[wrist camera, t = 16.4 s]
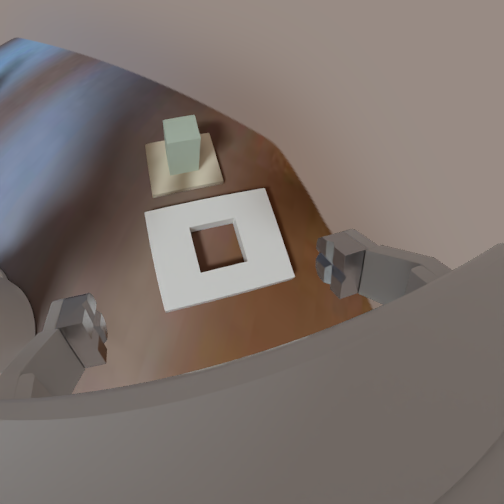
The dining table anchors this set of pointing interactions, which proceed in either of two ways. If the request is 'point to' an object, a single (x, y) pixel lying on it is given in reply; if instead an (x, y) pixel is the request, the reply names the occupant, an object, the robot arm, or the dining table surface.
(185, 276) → the holder
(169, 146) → the block
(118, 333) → the dining table surface
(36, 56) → the dining table surface
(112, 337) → the dining table surface
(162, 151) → the pad
